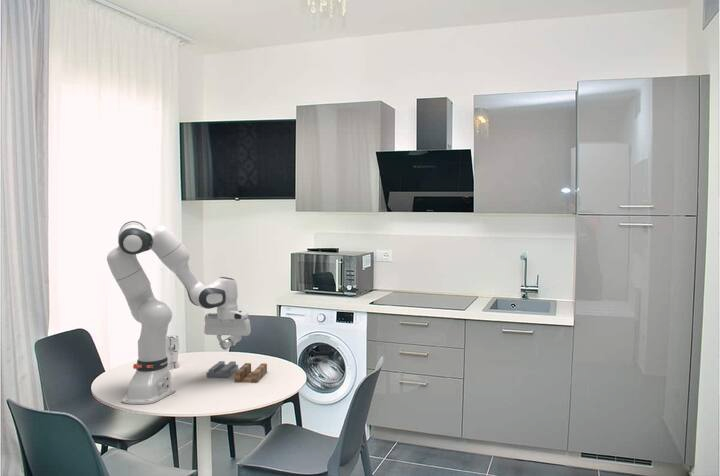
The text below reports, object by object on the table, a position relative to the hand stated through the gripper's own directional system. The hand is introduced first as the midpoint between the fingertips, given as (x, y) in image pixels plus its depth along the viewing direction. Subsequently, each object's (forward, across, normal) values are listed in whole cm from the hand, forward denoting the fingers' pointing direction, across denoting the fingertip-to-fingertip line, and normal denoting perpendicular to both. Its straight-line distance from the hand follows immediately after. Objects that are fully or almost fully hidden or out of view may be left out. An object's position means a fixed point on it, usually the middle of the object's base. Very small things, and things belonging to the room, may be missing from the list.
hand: (227, 345), depth 247 cm
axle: (+1, 0, +5) cm, 5 cm away
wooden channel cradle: (+16, +9, +5) cm, 19 cm away
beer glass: (+17, -35, +20) cm, 44 cm away
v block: (+16, -6, +10) cm, 20 cm away
